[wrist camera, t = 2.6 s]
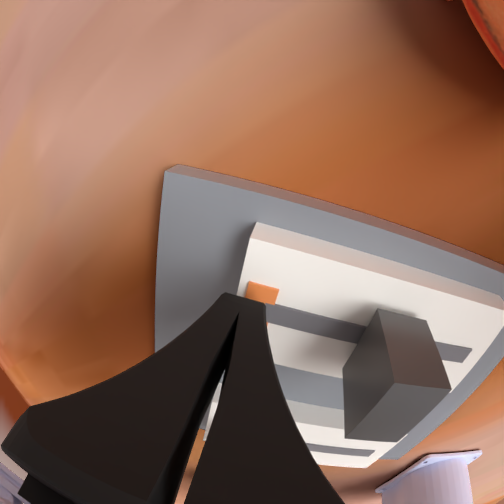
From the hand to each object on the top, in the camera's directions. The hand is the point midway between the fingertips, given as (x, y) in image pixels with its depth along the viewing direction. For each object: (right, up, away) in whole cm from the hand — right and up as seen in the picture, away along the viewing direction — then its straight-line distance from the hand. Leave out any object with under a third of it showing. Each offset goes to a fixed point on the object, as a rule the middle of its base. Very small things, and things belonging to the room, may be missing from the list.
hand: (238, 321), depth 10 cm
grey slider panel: (+5, -4, +5) cm, 8 cm away
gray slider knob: (+5, -1, 0) cm, 5 cm away
